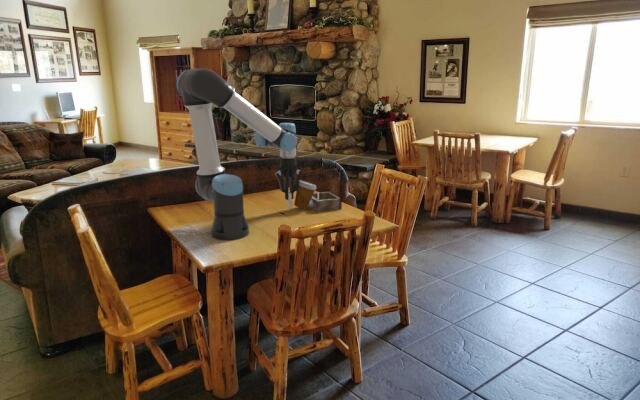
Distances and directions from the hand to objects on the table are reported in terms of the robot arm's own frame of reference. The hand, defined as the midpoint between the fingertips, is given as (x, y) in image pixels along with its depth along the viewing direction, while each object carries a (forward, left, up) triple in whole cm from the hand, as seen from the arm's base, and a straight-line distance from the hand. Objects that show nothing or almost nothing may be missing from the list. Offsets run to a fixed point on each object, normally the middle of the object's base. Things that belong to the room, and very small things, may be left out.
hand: (289, 205), depth 214 cm
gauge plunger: (+14, -1, -2) cm, 14 cm away
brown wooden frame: (+18, 0, -2) cm, 18 cm away
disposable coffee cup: (+5, 0, -1) cm, 6 cm away
